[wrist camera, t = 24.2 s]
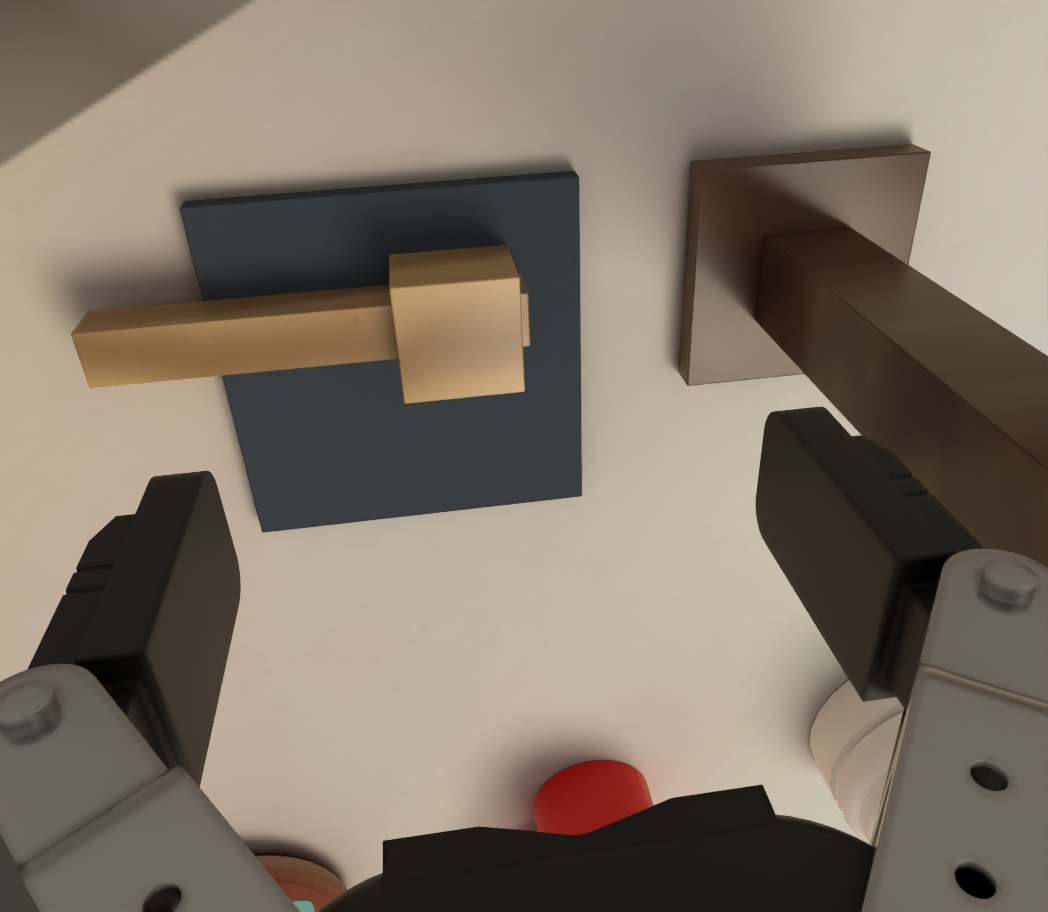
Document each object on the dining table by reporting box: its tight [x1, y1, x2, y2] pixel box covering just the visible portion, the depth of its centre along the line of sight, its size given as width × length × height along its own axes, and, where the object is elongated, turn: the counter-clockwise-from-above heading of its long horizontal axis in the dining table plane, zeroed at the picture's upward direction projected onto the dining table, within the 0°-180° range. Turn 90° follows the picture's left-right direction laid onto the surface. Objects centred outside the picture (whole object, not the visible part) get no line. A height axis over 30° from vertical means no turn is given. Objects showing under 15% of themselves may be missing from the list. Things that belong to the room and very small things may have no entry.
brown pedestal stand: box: [679, 144, 1048, 567], centre depth 26 cm, size 10×10×32 cm
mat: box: [180, 171, 582, 532], centre depth 39 cm, size 16×16×1 cm
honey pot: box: [810, 680, 904, 844], centre depth 51 cm, size 13×13×18 cm
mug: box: [534, 761, 653, 835], centre depth 56 cm, size 8×12×8 cm, turn 130°
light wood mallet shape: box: [71, 245, 530, 404], centre depth 35 cm, size 5×18×4 cm, turn 92°
